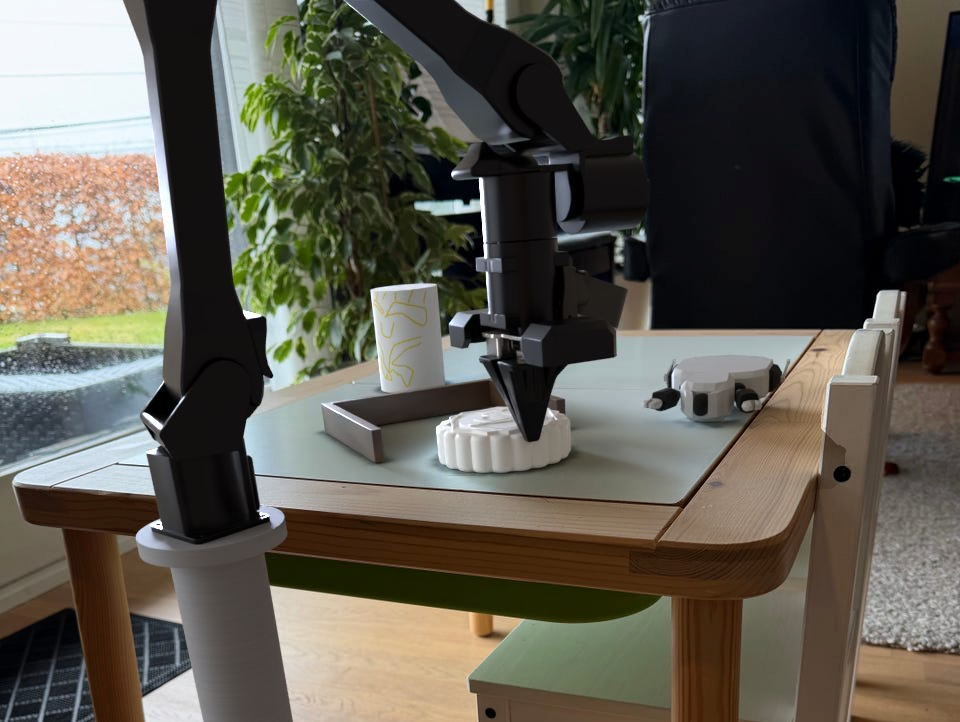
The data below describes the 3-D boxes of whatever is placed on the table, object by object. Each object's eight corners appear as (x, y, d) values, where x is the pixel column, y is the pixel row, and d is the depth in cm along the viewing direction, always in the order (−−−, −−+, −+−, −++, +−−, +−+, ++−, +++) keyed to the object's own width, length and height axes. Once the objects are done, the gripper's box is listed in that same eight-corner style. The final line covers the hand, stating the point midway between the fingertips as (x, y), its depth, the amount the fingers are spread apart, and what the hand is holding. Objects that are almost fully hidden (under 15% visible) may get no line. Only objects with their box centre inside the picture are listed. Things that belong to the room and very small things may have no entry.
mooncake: (547, 434, 95) (545, 397, 94) (590, 462, 85) (589, 420, 83) (426, 450, 93) (423, 412, 91) (455, 481, 82) (452, 438, 81)
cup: (370, 393, 123) (358, 292, 118) (399, 380, 130) (389, 284, 125) (429, 393, 120) (419, 289, 115) (455, 380, 127) (447, 282, 122)
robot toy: (764, 438, 91) (790, 394, 103) (765, 390, 89) (792, 350, 101) (636, 434, 96) (674, 392, 108) (635, 388, 94) (674, 351, 106)
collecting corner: (566, 429, 97) (565, 398, 96) (375, 463, 90) (371, 430, 89) (495, 404, 111) (493, 377, 109) (324, 432, 104) (320, 403, 102)
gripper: (677, 229, 71) (677, 444, 77) (556, 232, 86) (564, 410, 93) (540, 244, 67) (551, 468, 73) (439, 244, 83) (455, 429, 89)
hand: (532, 441), depth 82 cm, fingers closed
